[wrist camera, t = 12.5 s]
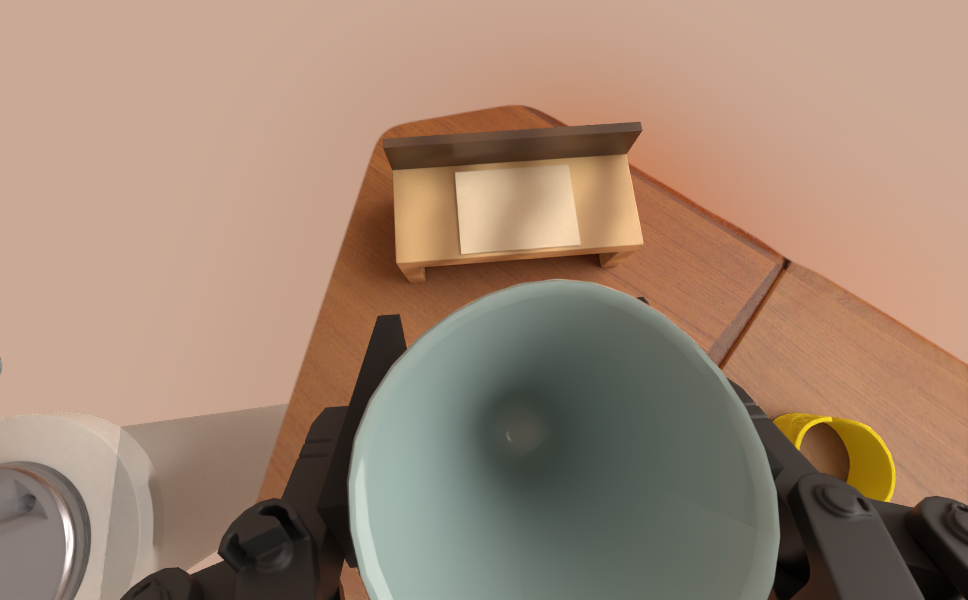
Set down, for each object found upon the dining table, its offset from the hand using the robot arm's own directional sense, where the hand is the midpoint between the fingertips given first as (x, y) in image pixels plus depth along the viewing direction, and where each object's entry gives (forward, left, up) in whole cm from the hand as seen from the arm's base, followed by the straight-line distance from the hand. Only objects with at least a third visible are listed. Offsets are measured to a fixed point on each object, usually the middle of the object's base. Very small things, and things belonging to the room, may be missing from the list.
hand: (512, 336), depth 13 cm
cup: (0, -3, -4) cm, 5 cm away
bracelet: (+27, -11, -20) cm, 35 cm away
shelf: (+3, +12, -20) cm, 23 cm away
